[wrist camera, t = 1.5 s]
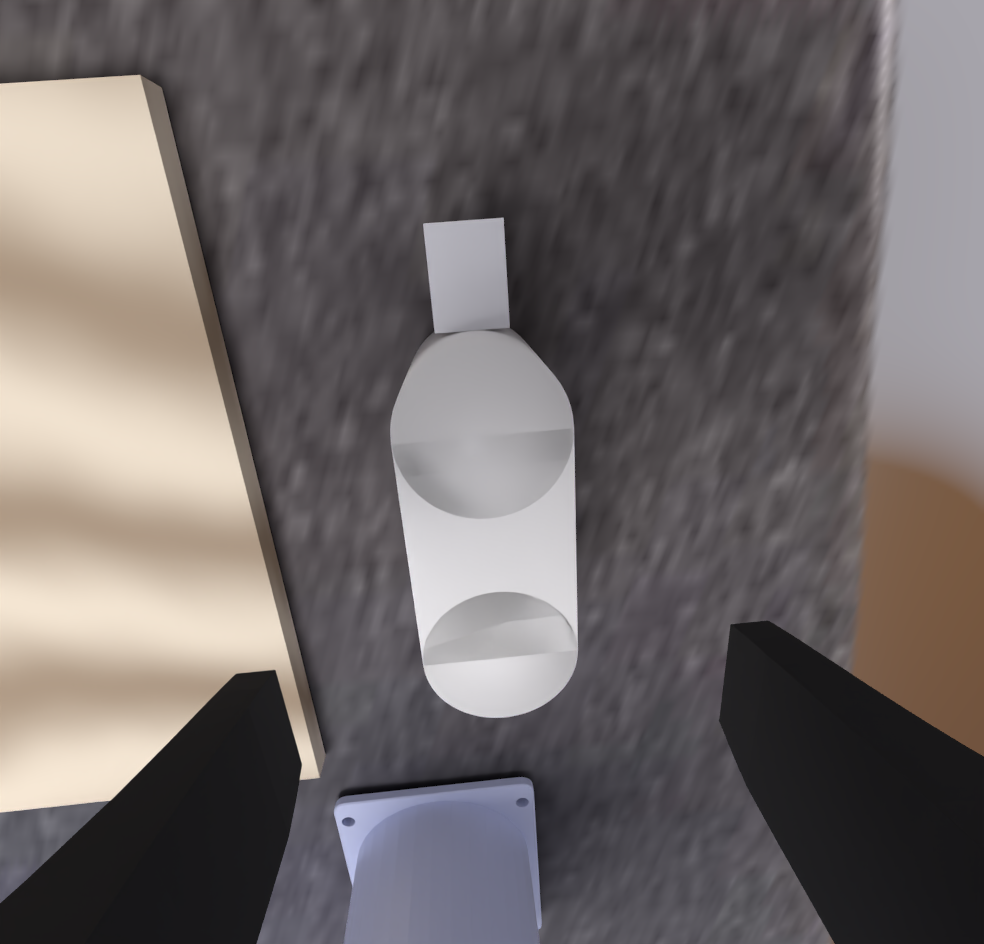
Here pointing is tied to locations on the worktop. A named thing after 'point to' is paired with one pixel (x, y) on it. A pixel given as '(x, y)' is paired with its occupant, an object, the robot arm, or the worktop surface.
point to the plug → (486, 489)
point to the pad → (118, 457)
